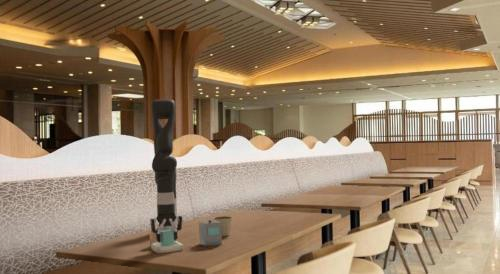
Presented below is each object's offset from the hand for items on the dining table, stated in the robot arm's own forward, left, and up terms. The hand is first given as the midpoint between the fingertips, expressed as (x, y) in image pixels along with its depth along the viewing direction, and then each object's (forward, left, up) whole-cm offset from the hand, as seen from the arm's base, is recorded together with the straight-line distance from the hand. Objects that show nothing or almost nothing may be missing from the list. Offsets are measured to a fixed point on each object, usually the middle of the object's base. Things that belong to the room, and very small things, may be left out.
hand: (166, 241), depth 222 cm
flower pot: (-17, +33, -4) cm, 37 cm away
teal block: (0, 0, -3) cm, 3 cm away
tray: (0, 0, -4) cm, 4 cm away
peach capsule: (-9, -3, -4) cm, 10 cm away
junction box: (0, +20, -4) cm, 20 cm away
